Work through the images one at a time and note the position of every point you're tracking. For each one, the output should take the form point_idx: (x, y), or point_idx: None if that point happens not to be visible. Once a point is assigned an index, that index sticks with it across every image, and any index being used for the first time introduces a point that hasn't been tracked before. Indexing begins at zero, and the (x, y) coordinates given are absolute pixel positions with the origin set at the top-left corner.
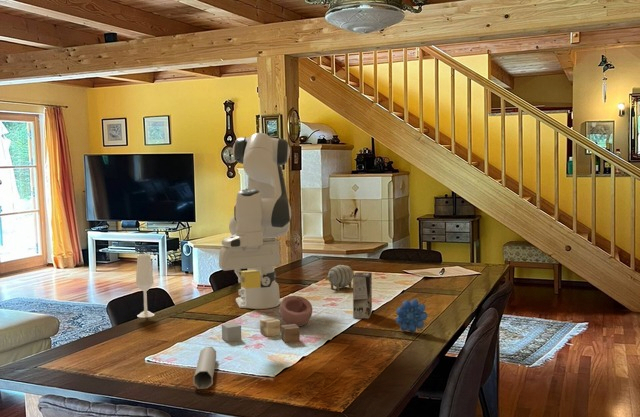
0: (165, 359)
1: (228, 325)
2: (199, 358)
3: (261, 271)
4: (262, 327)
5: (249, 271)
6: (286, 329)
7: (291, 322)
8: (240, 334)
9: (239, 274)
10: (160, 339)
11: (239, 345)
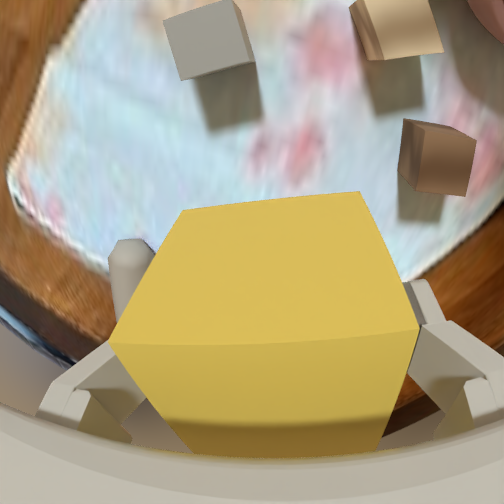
0: (43, 204)
1: (190, 42)
2: (116, 314)
3: (452, 378)
4: (361, 18)
5: (259, 412)
6: (420, 190)
7: (482, 24)
8: (249, 62)
9: (126, 411)
10: (14, 26)
11: (236, 129)
